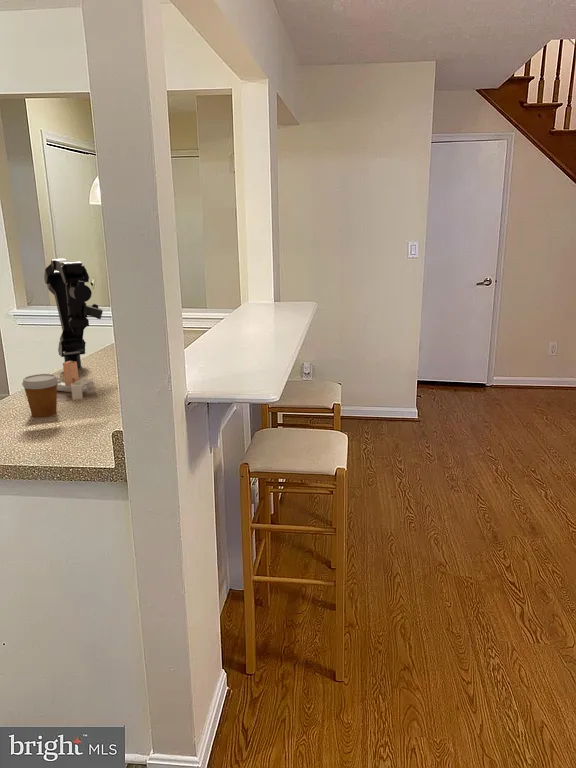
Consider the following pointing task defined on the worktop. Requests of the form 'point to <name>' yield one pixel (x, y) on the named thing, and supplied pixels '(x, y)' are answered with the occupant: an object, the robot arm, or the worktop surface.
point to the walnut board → (88, 394)
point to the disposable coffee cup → (41, 394)
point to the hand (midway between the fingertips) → (80, 343)
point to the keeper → (78, 388)
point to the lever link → (69, 377)
